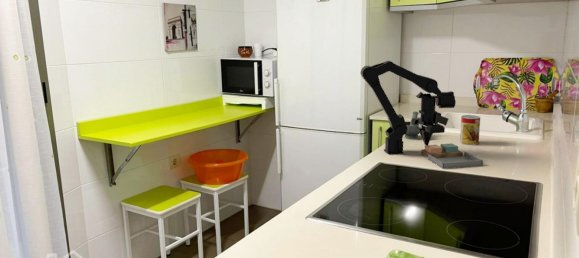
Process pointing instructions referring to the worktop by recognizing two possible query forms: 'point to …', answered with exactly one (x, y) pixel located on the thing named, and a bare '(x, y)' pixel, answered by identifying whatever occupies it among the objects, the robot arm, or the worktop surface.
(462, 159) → the grey tray
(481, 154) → the worktop surface
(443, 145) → the teal tile
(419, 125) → the robot arm
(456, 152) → the walnut step
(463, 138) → the canned food
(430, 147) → the terracotta tile
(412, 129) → the mortar and pestle
